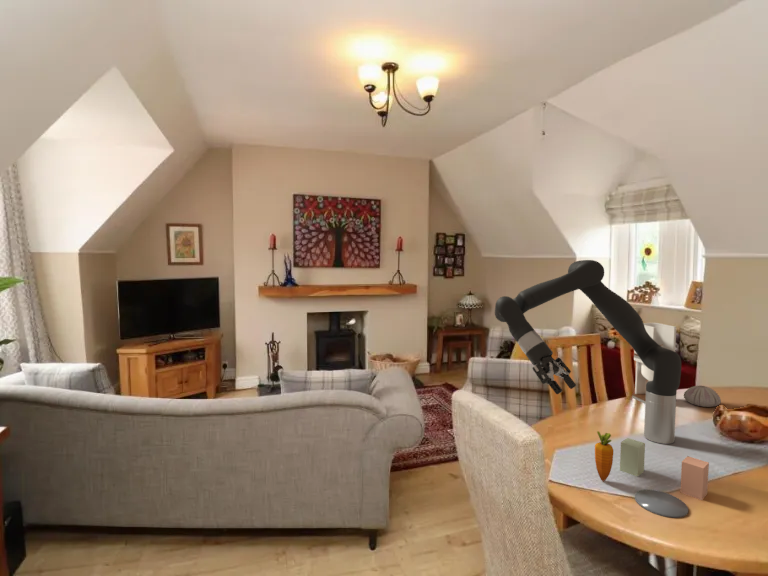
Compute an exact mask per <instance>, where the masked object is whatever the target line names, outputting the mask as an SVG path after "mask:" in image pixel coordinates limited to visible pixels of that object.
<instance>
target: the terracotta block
mask: <svg viewBox="0 0 768 576" xmlns="http://www.w3.org/2000/svg"><path fill="white" fill-rule="evenodd" d="M709 466H710V462H708V461H705V460H701V459H699V458H695V457H693V456H688V455H687V456H686V457H685V458H684V459H683V460H682V461H681V470H680V471H681V472H680V490H679V491H680V493H681V494H684V495H686V496H689V497H691V498H695V499H698V500H700V501H703V500H704V498H705V497H706V496H707V495H708V489H709V488H708V487H709V469H710V467H709Z"/></svg>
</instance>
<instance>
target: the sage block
mask: <svg viewBox="0 0 768 576" xmlns="http://www.w3.org/2000/svg"><path fill="white" fill-rule="evenodd" d="M645 449H646V442H644V441H643V442H642V441H639V440H636V439H633V438H630V437H626V438H625V439H624V440H623V441H621V442H620V455H619V457H620V460H619V471H620V472H623V473H626V474H628V475H632V476H635V477H640V475H642V474H643V473H644V472H645V455H646V450H645Z"/></svg>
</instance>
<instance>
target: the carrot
mask: <svg viewBox="0 0 768 576" xmlns="http://www.w3.org/2000/svg"><path fill="white" fill-rule="evenodd" d="M596 433H597V435H598V438H599V440H600V442H596V443H595V444H594V460H595V462H594V463H595V466H596V471H597V474H598V477H599V479H600V480H601V482H605V481H606V480H607V479H608V478H609V476H610V473H611V472H612V471H611V470H612V467H613V463H614V462H613V461H614V448H613V446H612V445H611V444H610V443H611V442H612V440H611V439H610V438H611V437H612V434H611V433H609V432H605V433H604V434H601V432H600V431H596Z"/></svg>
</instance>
